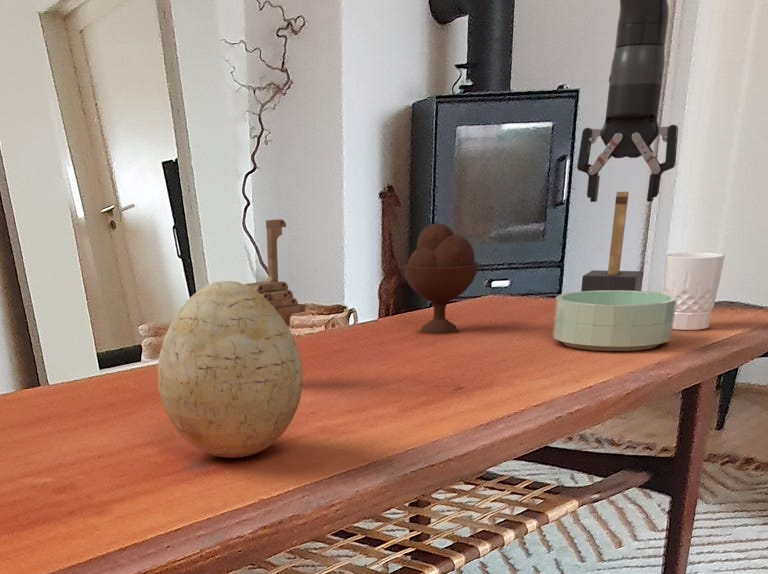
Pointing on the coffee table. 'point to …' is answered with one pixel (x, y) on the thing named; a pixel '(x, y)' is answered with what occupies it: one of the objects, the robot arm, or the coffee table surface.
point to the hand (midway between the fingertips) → (621, 201)
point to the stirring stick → (618, 232)
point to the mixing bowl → (614, 319)
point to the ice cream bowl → (440, 271)
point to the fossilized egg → (229, 371)
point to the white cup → (693, 287)
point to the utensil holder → (612, 281)
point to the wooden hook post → (276, 277)
